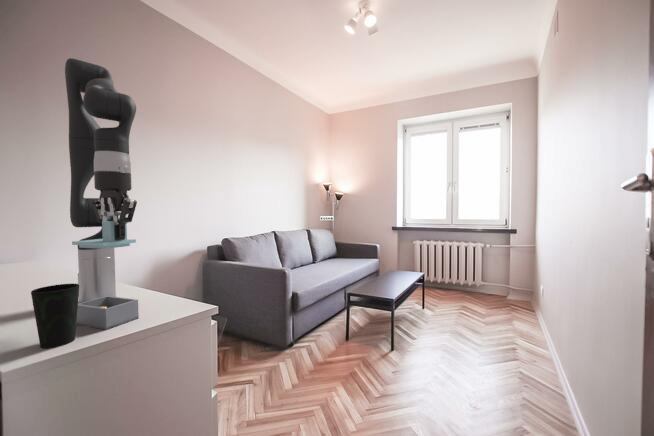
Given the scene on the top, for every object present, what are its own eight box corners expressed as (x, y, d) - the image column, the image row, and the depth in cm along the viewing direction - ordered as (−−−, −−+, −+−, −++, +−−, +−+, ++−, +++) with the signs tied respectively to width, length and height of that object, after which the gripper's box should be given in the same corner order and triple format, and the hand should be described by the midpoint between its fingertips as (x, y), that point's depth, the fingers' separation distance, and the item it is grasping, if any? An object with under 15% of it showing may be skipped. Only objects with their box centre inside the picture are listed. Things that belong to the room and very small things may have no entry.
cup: (77, 332, 68) (75, 281, 68) (85, 340, 63) (83, 286, 63) (30, 344, 62) (28, 289, 62) (35, 354, 58) (33, 294, 57)
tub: (75, 324, 74) (74, 304, 73) (108, 313, 81) (107, 295, 81) (106, 329, 69) (105, 309, 69) (138, 318, 77) (138, 299, 77)
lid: (72, 247, 73) (71, 221, 73) (106, 244, 81) (105, 220, 81) (103, 249, 69) (102, 221, 69) (136, 245, 76) (135, 220, 76)
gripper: (78, 171, 72) (80, 240, 72) (116, 167, 67) (118, 242, 67) (110, 174, 79) (112, 237, 79) (146, 171, 74) (148, 238, 74)
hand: (115, 239), depth 73 cm, fingers closed on lid, 3 cm apart
